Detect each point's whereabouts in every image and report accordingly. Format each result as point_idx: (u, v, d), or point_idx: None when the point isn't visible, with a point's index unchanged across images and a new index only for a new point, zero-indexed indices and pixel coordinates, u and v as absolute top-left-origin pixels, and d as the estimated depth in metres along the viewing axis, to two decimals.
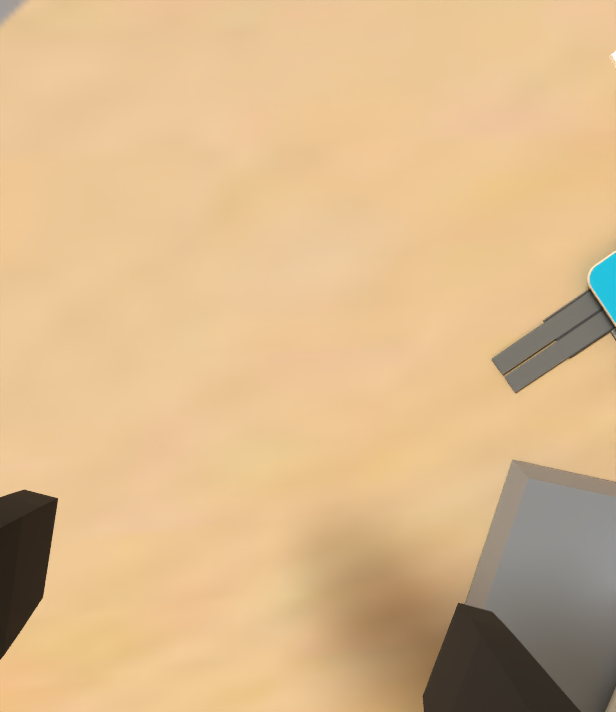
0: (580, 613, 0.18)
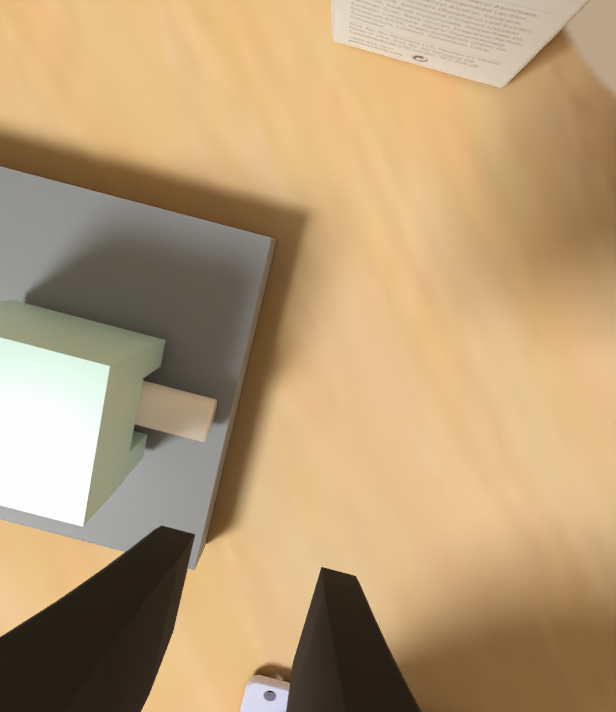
0: None
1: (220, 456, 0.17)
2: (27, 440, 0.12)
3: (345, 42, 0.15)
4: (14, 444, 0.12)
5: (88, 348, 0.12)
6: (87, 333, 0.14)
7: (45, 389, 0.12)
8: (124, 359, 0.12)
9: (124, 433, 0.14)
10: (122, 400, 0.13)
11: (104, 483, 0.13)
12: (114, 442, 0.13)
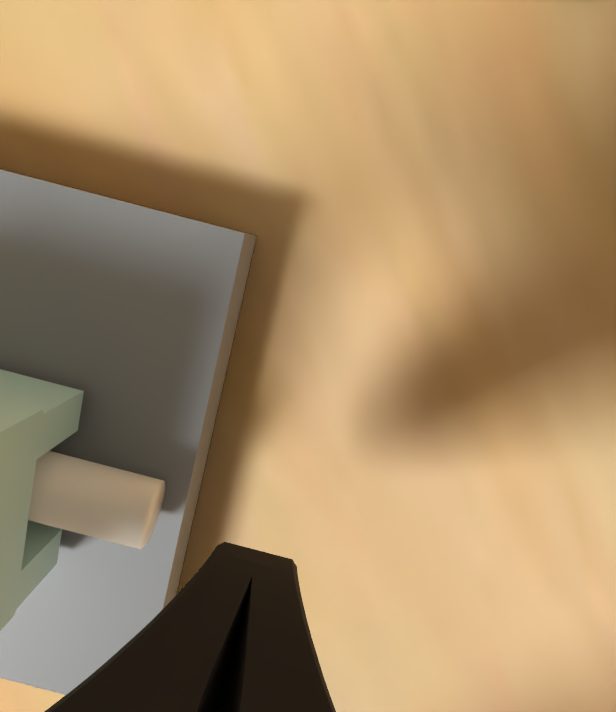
0: None
1: (173, 557, 0.11)
2: None
3: None
4: None
5: None
6: None
7: None
8: None
9: (1, 553, 0.08)
10: None
11: None
12: None
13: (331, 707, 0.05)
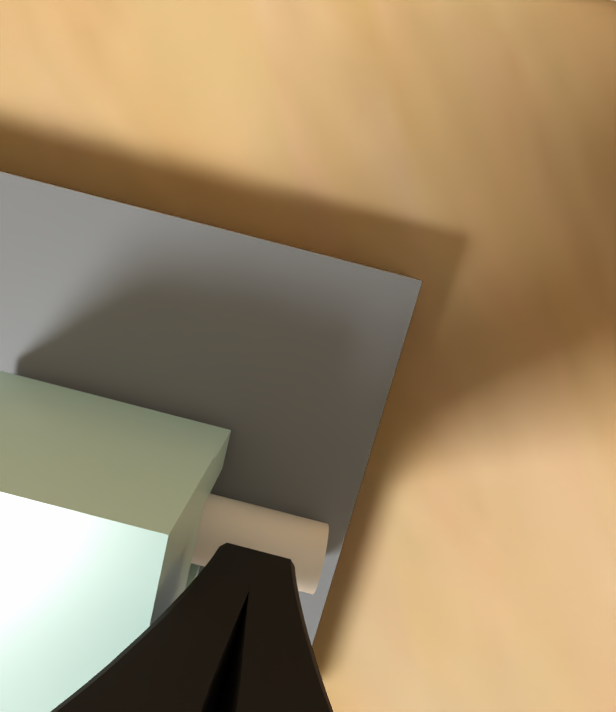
0: None
1: (324, 597, 0.11)
2: (15, 656, 0.07)
3: None
4: None
5: (123, 483, 0.07)
6: (117, 440, 0.08)
7: (49, 573, 0.06)
8: (187, 503, 0.07)
9: None
10: (179, 561, 0.08)
11: None
12: None
13: (328, 706, 0.05)
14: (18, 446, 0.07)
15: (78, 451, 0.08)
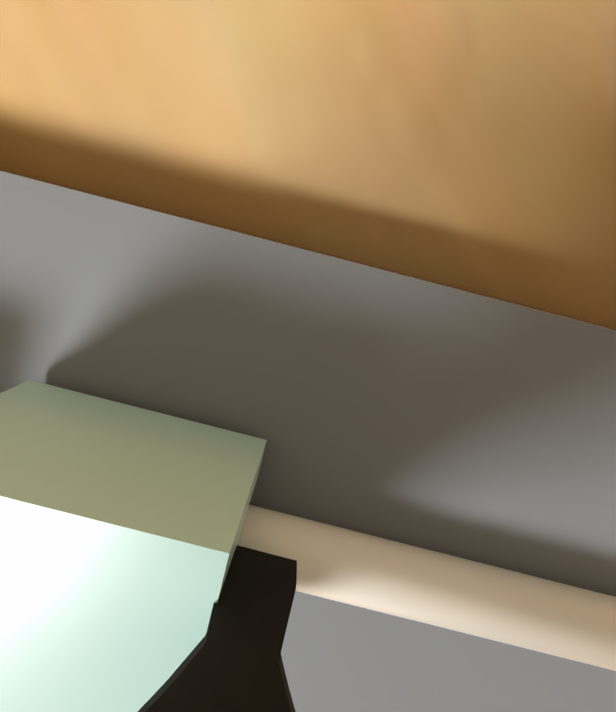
0: None
1: None
2: (69, 673, 0.07)
3: None
4: (47, 680, 0.07)
5: (175, 499, 0.07)
6: (160, 452, 0.08)
7: (106, 591, 0.06)
8: (240, 519, 0.07)
9: None
10: None
11: None
12: None
13: (287, 696, 0.05)
14: (67, 461, 0.07)
15: (126, 466, 0.07)
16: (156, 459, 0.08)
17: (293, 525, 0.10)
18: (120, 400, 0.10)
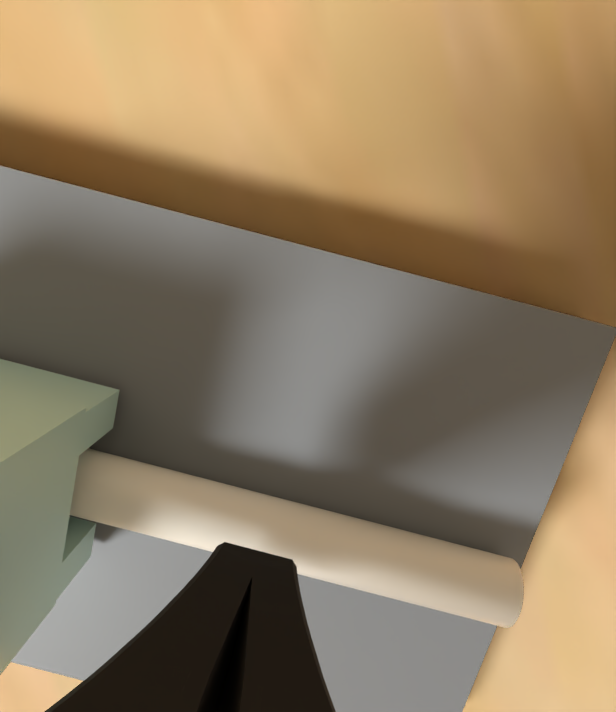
0: None
1: (493, 626, 0.12)
2: None
3: None
4: None
5: None
6: None
7: None
8: (29, 443, 0.07)
9: (47, 545, 0.09)
10: (35, 503, 0.08)
11: (10, 632, 0.08)
12: (25, 568, 0.08)
13: (331, 707, 0.05)
14: None
15: None
16: None
17: (141, 471, 0.10)
18: None
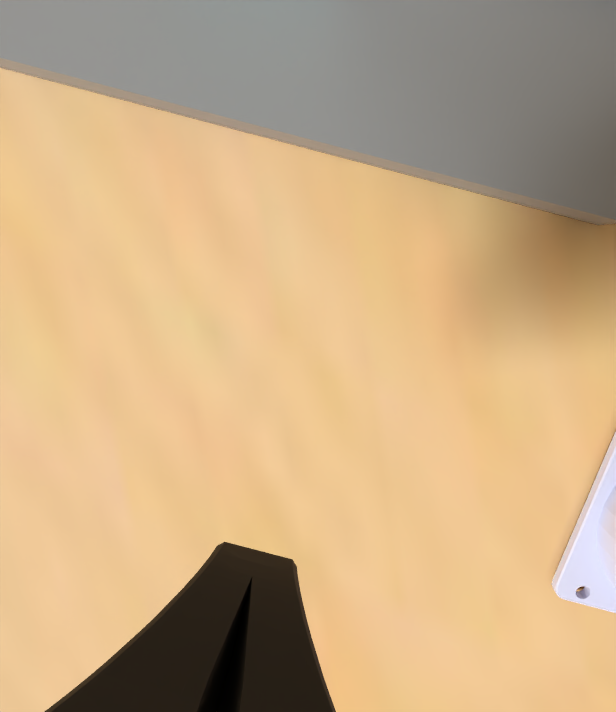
0: None
1: None
2: None
3: None
4: None
5: None
6: None
7: None
8: None
9: None
10: None
11: None
12: None
13: (331, 707, 0.05)
14: None
15: None
16: None
17: None
18: None
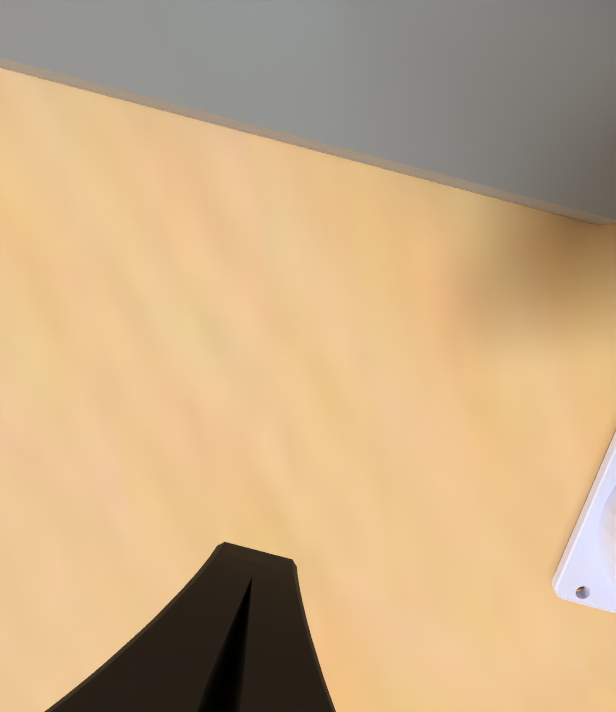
0: None
1: None
2: None
3: None
4: None
5: None
6: None
7: None
8: None
9: None
10: None
11: None
12: None
13: (331, 707, 0.05)
14: None
15: None
16: None
17: None
18: None
